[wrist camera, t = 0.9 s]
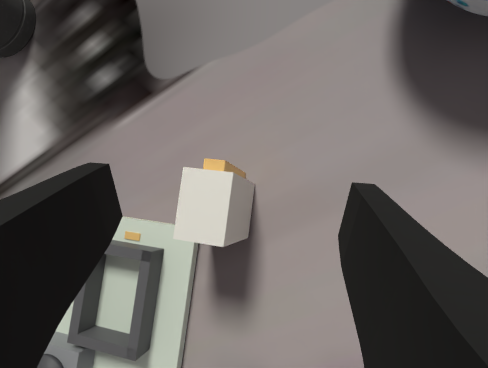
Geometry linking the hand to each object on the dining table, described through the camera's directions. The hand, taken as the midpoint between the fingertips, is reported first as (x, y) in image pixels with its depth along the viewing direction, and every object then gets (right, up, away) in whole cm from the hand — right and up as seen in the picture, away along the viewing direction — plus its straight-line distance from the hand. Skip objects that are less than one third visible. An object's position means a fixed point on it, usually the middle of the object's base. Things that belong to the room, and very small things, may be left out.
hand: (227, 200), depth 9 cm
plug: (0, -1, +16) cm, 16 cm away
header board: (-10, -10, +17) cm, 23 cm away
